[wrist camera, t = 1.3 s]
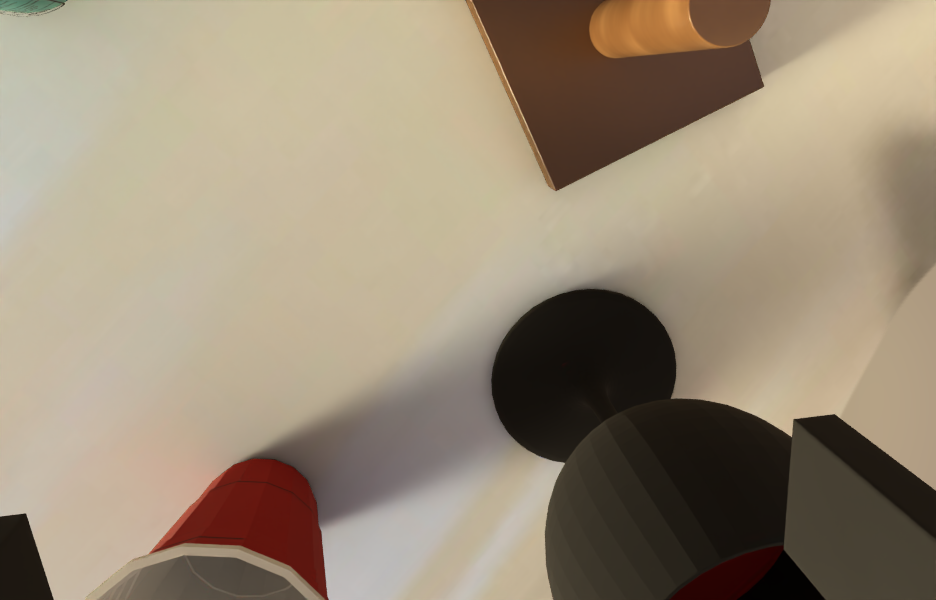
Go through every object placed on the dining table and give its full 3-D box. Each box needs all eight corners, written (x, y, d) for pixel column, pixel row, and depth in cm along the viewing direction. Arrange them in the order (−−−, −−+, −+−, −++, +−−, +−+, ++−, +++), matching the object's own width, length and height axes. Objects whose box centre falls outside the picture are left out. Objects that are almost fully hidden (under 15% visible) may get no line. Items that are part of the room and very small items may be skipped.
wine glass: (575, 493, 40) (736, 860, 21) (450, 381, 37) (509, 691, 18) (711, 374, 39) (1014, 654, 20) (593, 247, 36) (816, 435, 17)
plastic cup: (292, 376, 36) (247, 511, 25) (394, 526, 40) (395, 704, 28) (116, 470, 37) (-7, 644, 26) (231, 610, 40) (168, 818, 29)
